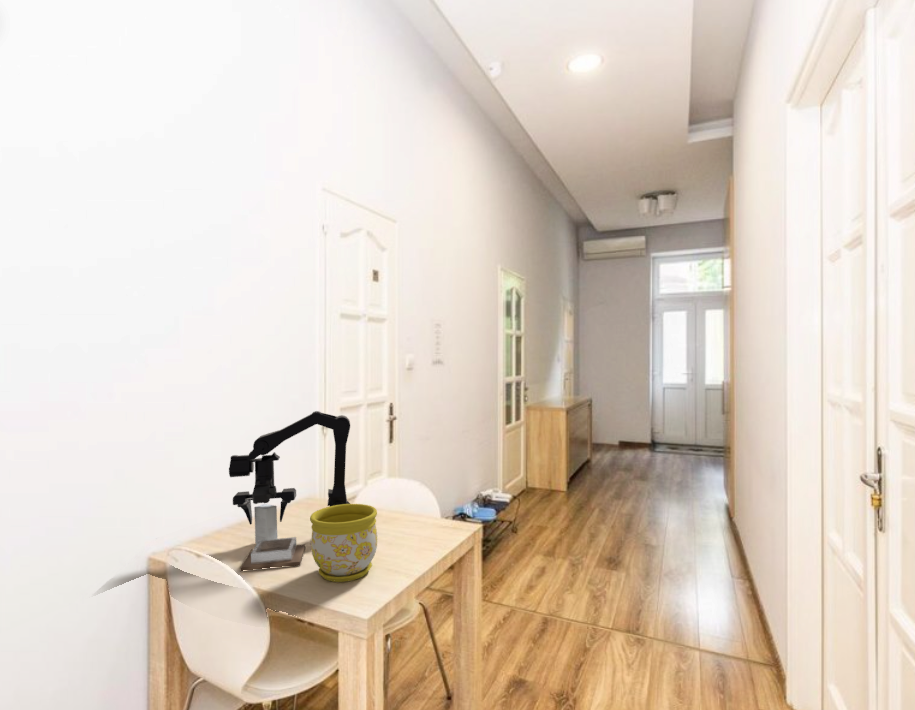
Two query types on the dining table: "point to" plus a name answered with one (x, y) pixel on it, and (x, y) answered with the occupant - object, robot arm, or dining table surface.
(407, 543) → the dining table surface
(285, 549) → the light gray square frame
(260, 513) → the skincare box
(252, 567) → the square wooden tray
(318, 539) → the flowerpot
